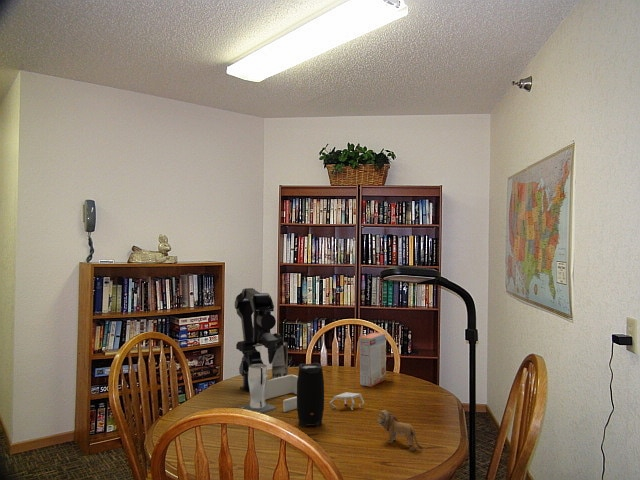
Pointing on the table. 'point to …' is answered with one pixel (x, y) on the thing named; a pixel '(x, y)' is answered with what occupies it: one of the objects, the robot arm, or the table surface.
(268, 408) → the slate mat
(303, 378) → the portable speaker
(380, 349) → the cracker box
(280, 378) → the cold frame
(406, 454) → the table surface
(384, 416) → the lion figurine
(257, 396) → the beer glass
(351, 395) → the white legged piece
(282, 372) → the coffee box
